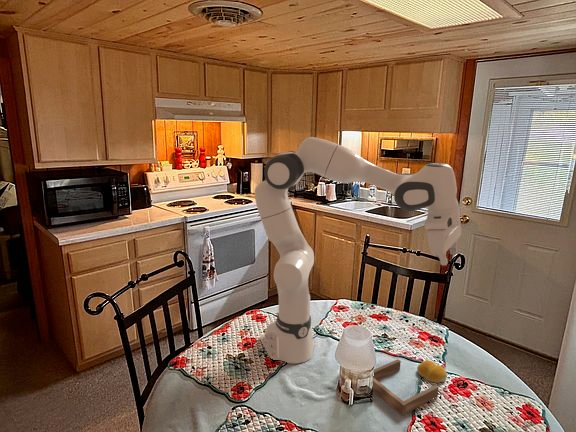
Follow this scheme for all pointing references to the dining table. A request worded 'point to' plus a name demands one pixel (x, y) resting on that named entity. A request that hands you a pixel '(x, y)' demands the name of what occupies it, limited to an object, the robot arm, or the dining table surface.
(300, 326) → the robot arm
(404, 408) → the tray
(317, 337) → the dining table surface
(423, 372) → the bread roll
